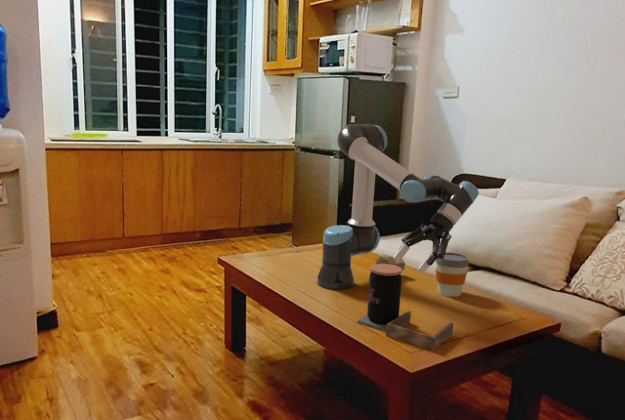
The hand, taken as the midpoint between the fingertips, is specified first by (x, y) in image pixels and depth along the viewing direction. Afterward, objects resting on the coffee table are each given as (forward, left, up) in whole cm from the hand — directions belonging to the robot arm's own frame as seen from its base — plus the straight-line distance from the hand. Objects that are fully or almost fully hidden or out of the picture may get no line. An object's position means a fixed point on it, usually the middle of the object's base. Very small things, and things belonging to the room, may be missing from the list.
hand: (407, 265), depth 180 cm
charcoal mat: (-4, -8, -19) cm, 21 cm away
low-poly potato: (-27, +39, -19) cm, 51 cm away
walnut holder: (+10, -9, -19) cm, 23 cm away
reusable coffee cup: (+1, +37, -19) cm, 42 cm away
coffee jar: (-4, -7, -18) cm, 20 cm away
